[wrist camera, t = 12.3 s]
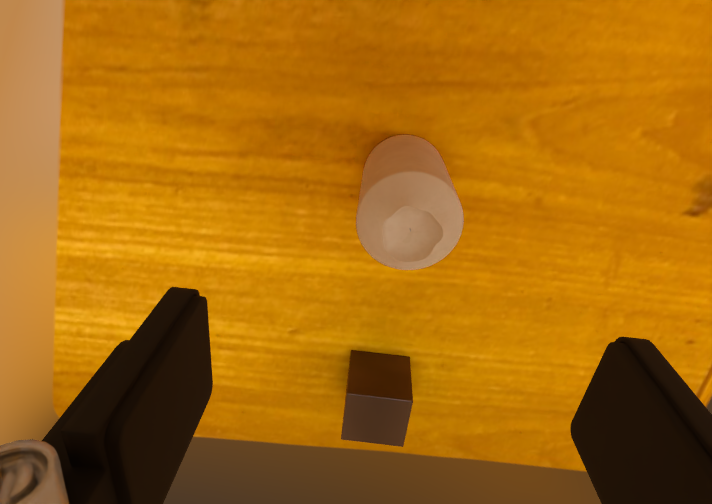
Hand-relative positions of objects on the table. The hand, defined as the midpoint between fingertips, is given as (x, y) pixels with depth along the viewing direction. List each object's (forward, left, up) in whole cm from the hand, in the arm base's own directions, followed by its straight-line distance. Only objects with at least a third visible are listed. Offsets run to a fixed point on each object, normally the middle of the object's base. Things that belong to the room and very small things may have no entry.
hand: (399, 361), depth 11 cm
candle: (+2, -2, -22) cm, 22 cm away
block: (+7, -19, -22) cm, 30 cm away
